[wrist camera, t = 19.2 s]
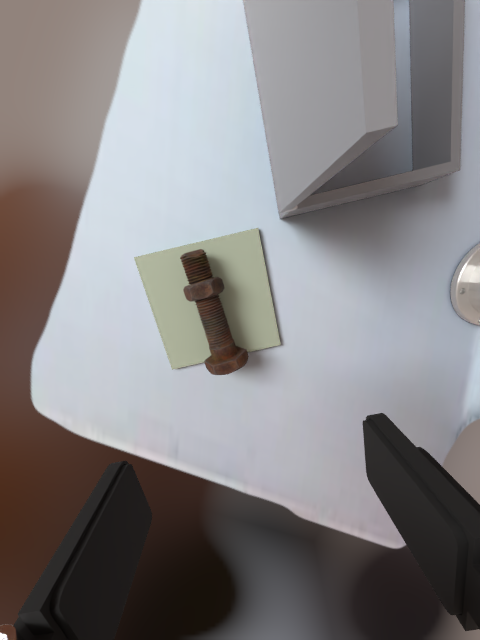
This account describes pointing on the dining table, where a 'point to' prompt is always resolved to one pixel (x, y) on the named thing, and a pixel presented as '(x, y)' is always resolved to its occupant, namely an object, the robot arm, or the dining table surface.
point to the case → (353, 92)
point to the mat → (237, 297)
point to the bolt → (212, 314)
